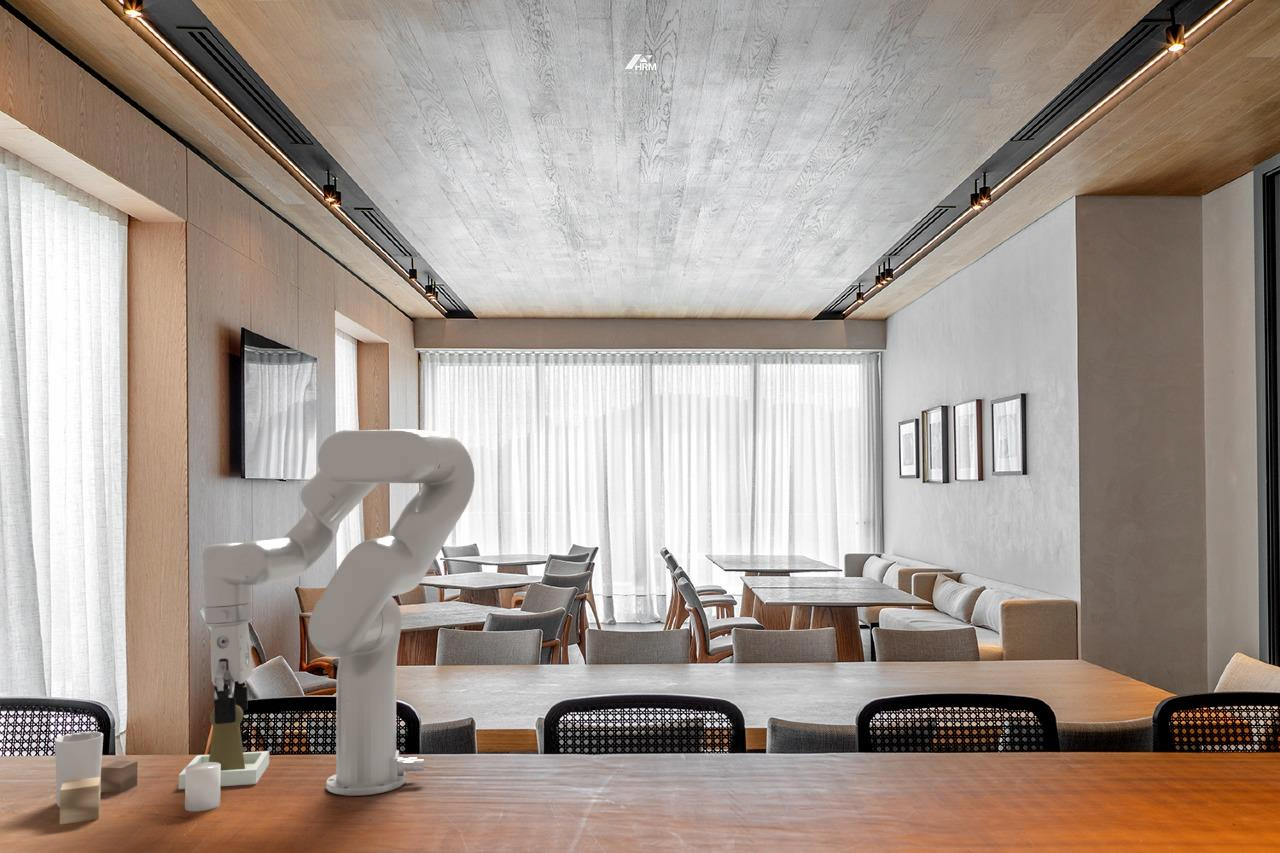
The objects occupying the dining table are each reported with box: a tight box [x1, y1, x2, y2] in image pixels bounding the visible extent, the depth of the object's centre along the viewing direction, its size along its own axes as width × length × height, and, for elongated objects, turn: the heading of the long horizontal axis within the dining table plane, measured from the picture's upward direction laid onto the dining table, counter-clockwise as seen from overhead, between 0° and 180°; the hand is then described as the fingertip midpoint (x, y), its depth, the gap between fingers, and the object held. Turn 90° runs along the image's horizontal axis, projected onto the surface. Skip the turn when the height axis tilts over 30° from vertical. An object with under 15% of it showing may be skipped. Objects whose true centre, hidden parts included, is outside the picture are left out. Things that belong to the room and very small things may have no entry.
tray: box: [178, 750, 270, 790], centre depth 169 cm, size 12×12×2 cm
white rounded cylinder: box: [184, 762, 222, 812], centre depth 153 cm, size 5×5×6 cm
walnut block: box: [100, 760, 139, 794], centre depth 163 cm, size 4×4×4 cm
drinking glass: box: [54, 731, 104, 808], centre depth 156 cm, size 7×7×10 cm
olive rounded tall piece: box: [209, 705, 245, 770], centre depth 169 cm, size 6×6×11 cm
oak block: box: [59, 777, 101, 825], centre depth 149 cm, size 5×5×5 cm
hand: (231, 716), depth 169 cm, fingers open, 9 cm apart
